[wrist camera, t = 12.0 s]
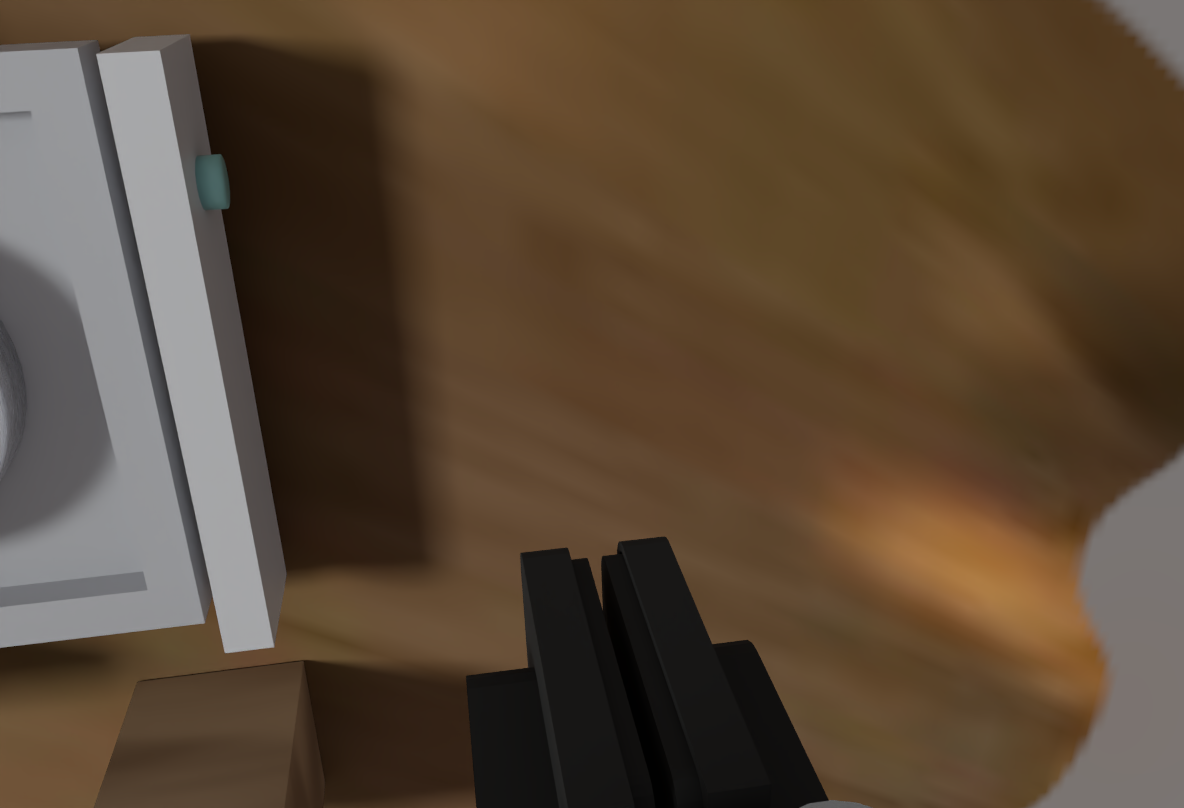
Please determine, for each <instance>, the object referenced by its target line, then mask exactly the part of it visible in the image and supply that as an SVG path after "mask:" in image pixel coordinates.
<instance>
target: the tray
mask: <svg viewBox="0 0 1184 808" xmlns="http://www.w3.org/2000/svg"><path fill="white" fill-rule="evenodd" d="M229 206H230V187H229V179H228V173H227V169H226V165H225V161H224V159H223V156H222V155H221V154H214V155H211V150H210V145H209V139H208V133H207V128H206V122H205V117H204V111H203V106H202V100H201V94H200V89H199V83H198V78H197V72H196V67H195V61H194V56H193V50H192V44H191V39H190V34H186V35H166V36H147V37H133V38H131V39H129V40H127V41H124V42H122V43H120V44H117V45H115V46H113V47H111V48H108V49H106V50H104V51H101V52H100V48H99V43H98V40H87V41H67V42H48V43H28V44H9V45H0V319H1V321H2V322H3V324H4V326H5V328H6V330H7V331H8V333H9V335H10V337H11V339H12V341H13V343H14V345H15V348H16V351H17V354H18V357H19V359H20V362H21V365H22V370H23V375H24V379H25V384H26V397H27V412H26V422H25V429H24V432H23V436H22V440H21V443H20V447H19V449H18V451H17V453H16V455H15V458H14V460H13V462H12V464H11V466H10V467H9V469H8V470H7V472H6V473H5V475H4V476H3V478H2V479H1V481H0V648H2V647H11V646H19V645H27V644H36V643H44V642H52V641H61V640H69V639H77V638H86V637H94V636H102V635H111V634H119V633H127V632H135V631H144V630H152V629H160V628H169V627H177V626H185V625H194V624H202V623H205V620H206V617H207V613H208V610H209V606H210V603H211V599H212V595H213V599H214V604H215V609H216V613H217V618H218V623H219V627H220V632H221V637H222V641H223V646H224V651H225V653H231V652H239V651H247V650H255V649H263V648H271V647H274V645H275V639H276V634H277V628H278V622H279V616H280V610H281V605H282V599H283V593H284V587H285V582H286V576H287V573H286V568H285V562H284V557H283V551H282V545H281V540H280V534H279V529H278V523H277V518H276V512H275V506H274V501H273V495H272V490H271V484H270V479H269V473H268V467H267V462H266V456H265V451H264V445H263V440H262V434H261V429H260V423H259V417H258V412H257V406H256V401H255V395H254V390H253V384H252V378H251V373H250V367H249V362H248V356H247V351H246V345H245V339H244V334H243V328H242V323H241V317H240V312H239V306H238V300H237V295H236V289H235V284H234V278H233V273H232V267H231V261H230V256H229V250H228V245H227V239H226V234H225V228H224V223H223V217H222V211H221V209H228V208H229Z"/></svg>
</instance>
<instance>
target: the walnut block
mask: <svg viewBox="0 0 1184 808" xmlns="http://www.w3.org/2000/svg"><path fill="white" fill-rule="evenodd" d="M324 793H325V778H324V773H323V767H322V762H321V756H320V750H319V745H318V739H317V734H316V728H315V722H314V717H313V711H312V706H311V700H310V695H309V689H308V683H307V678H306V672H305V667H304V661H299V662H291V663H283V664H275V665H267V666H259V667H251V668H243V669H235V670H227V671H219V672H212V673H204V674H196V675H188V676H180V677H172V678H164V679H156V680H148V681H140V682H137V684H136V687H135V690H134V693H133V696H132V698H131V701H130V704H129V707H128V710H127V713H126V716H125V719H124V722H123V725H122V727H121V730H120V733H119V736H118V739H117V742H116V745H115V748H114V751H113V754H112V756H111V759H110V762H109V765H108V768H107V771H106V774H105V777H104V780H103V782H102V785H101V788H100V791H99V794H98V797H97V800H96V803H95V806H94V808H323V804H324Z"/></svg>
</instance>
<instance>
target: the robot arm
mask: <svg viewBox="0 0 1184 808" xmlns="http://www.w3.org/2000/svg"><path fill="white" fill-rule="evenodd" d="M520 559H521V576H522V589H523V603H524V616H525V630H526V644H527V657H528V668H523V669H516V670H508V671H500V672H492V673H484V674H477V675H469V676H466V682H467V695H468V708H469V720H470V733H471V745H472V757H473V770H474V782H475V795H476V807H477V808H871V807H868V806H865V805H862V804H859V803H855V802H844V801H834V800H831V801H829V800H828V798H827V796H826V794H825V791H824V789H823V787H822V785H821V783H820V781H819V779H818V777H817V775H816V773H815V771H814V769H813V766H812V764H811V762H810V760H809V758H808V756H807V754H806V752H805V750H804V748H803V746H802V744H801V741H800V739H799V737H798V735H797V733H796V731H795V729H794V727H793V725H792V723H791V721H790V719H789V716H788V714H787V712H786V710H785V708H784V706H783V704H782V702H781V700H780V698H779V696H778V694H777V691H776V689H775V687H774V685H773V683H772V681H771V679H770V677H769V675H768V673H767V671H766V669H765V666H764V664H763V662H762V660H761V658H760V656H759V654H758V652H757V650H756V649H755V647H754V645H753V644H752V643H751V642H750V641H748V640H743V641H735V642H727V643H719V644H712V643H711V640H710V638H709V636H708V633H707V631H706V629H705V626H704V624H703V621H702V619H701V617H700V614H699V612H698V610H697V607H696V605H695V603H694V600H693V598H692V595H691V593H690V591H689V588H688V586H687V584H686V581H685V579H684V577H683V574H682V572H681V569H680V567H679V565H678V562H677V560H676V558H675V555H674V553H673V550H672V548H671V546H670V543H669V541H668V539H667V538H666V537H656V538H647V539H639V540H630V541H621V542H619V543H618V548H617V555H609V556H602V561H601V570H602V597H603V610H602V607H601V603H600V600H599V596H598V593H597V589H596V586H595V582H594V579H593V575H592V572H591V568H590V565H589V561H588V559H587V558H583V559H574V560H571V557H570V554H569V550H568V548H560V549H551V550H542V551H533V552H525V553H521V555H520Z"/></svg>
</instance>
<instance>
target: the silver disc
mask: <svg viewBox="0 0 1184 808" xmlns="http://www.w3.org/2000/svg"><path fill="white" fill-rule="evenodd" d="M26 412H27V397H26V384H25V379H24V375H23V370H22V365H21V362H20V359H19V357H18V354H17V351H16V348H15V345H14V343H13V341H12V339H11V337H10V335H9V333H8V331H7V330H6V328H5V326H4V324H3V322H2V321H1V319H0V481H1V479H2V478H3V476H4V475H5V473H6V472H7V470H8V469H9V467H10V466H11V464H12V462H13V460H14V458H15V455H16V453H17V451H18V449H19V447H20V443H21V440H22V436H23V432H24V429H25V422H26Z"/></svg>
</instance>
